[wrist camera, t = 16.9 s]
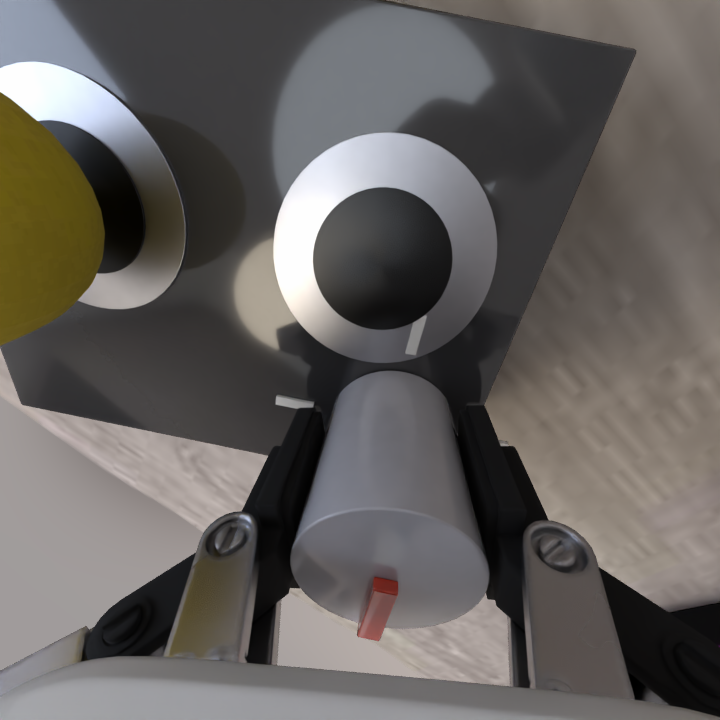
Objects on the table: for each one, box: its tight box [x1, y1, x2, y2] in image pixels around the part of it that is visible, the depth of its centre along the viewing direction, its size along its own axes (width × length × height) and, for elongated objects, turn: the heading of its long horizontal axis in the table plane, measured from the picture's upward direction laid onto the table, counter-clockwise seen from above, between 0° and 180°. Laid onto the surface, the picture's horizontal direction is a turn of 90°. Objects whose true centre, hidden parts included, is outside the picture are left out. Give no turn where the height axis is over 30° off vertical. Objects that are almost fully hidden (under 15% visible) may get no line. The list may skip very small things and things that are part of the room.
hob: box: [0, 0, 636, 456], centre depth 12 cm, size 19×15×3 cm
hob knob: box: [290, 371, 490, 641], centre depth 10 cm, size 4×4×6 cm
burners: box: [0, 61, 497, 363], centre depth 10 cm, size 15×6×1 cm, turn 80°
